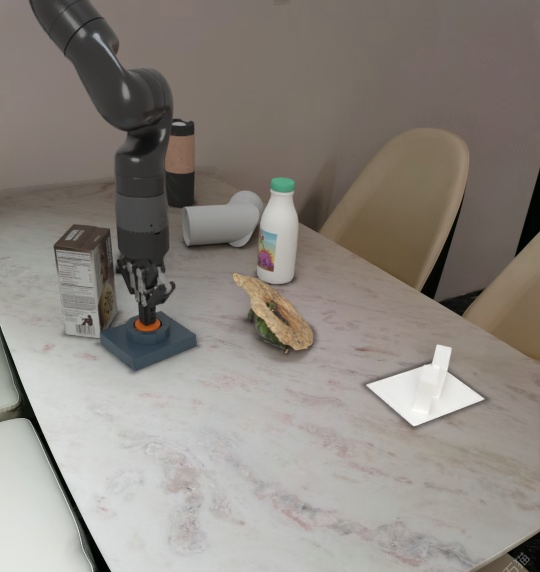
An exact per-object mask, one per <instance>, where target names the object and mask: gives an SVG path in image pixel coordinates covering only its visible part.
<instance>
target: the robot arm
mask: <svg viewBox="0 0 540 572" xmlns="http://www.w3.org/2000/svg"><path fill="white" fill-rule="evenodd" d="M27 3H28V6H29V9H30V11H31V13H32V15H33V18H34V19H35V21H36V23H37V24H38V26H39V27H40V28H41V30H42V31H43V33H44V34H45V35H46V36H47V38H48V39H49V41H51V43H52V44H53V45H54V46H55V48H57V49H58V51H59V52H60V53H61V54H62V56H63V57H64V58H65V59H66V60H67V61H68V63H70V65H71V66H72V67H73V68H74V71H75V72H76V75H77V77H78V79H79V81H80V83H81V85H82V87H83V89H84V91H85V93H86V94H87V96H88V98H89V100H90V102H91V103H92V105H93V107H94V109H95V110H96V112H97V113H98V114H99V116H100V117H101V118H102V119H103V120H104V121H105V122H106V123H108V124H109V125H110V126H111V127H113V128H114V129H117V130H119V131H122V132H126V135H125V138H124V140H123V141H122V143H121V144H120V145H119V146H118V147H117V148H116V149H115V151H114V153H113V161H112V162H113V176H114V188H115V191H114V192H115V194H114V195H115V196H114V197H115V199H114V212H115V213H114V214H115V225H116V238H117V249H118V251H119V253H120V254H123V255H124V256H125V257H124V258H120V259H119V258H117V259H116V265H117V264H118V267H119V269H120V272H121V276H122V278H123V282H124V283H125V286H126V289H127V291H128V293H129V295H131V296H133V295H134V299H135V302H136V303H137V307H138V315H139V321H140V322H141V323H142V324H143V325H145V326H148V325H151V324H154V323H155V322H156V312H157V307H158V306H160V305H164V304H165V303H166V302H167V300H168V299H169V297H170V296H171V295H172V294H173V292H174V291H175V290H176V287H177V286H176V283H175V281H174V280H172V281H171V280H170V281H169V280H168V277H166V270H167V269H166V266H165V262H164V258H165V256H166V254H168V252H169V250H170V221H169V217H170V216H169V205H168V200H167V194H166V172H165V157H166V152H167V148H168V144H169V138H170V132H171V126H172V120H173V119H174V96H173V92H172V91H173V90H172V89H171V85H170V83H169V82H168V79H167V78H166V76H165V75H164V73H162V72H161V71H159V70H158V69H156V68H154V67H152V66H138V67H134V68H129V69H128V68H127V69H126V68H125V66H124V65H123V64H122V63H121V62H120V60H119V58H118V57H117V55H118V52H119V49H120V39H119V37H118V34H117V32H116V31H115V30H114V28H113V27H112V25H111V24H110V23H109V22H108V21H107V19H106V17H105V16H104V15H103V14H102V13H101V12H100V10H99V9H98V8H97V7H96V5H94V4H93V2H92V1H91V0H27Z"/></svg>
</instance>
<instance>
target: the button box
mask: <svg viewBox="0 0 540 572" xmlns="http://www.w3.org/2000/svg"><path fill="white" fill-rule="evenodd" d="M138 319H139V314H137V315H134V316H131V317H130V318H129V319H128V320H126V321H125V323H122V324H120V325H116V326H114V327H111V328H108V329H107V330H105V331H102V332H100V338H99V340H100V344H101V346H103V347H104V348H105V349H107V350H108V351H109V352H110V353H112V355H114V356H115V357H117V359H119V360H120V361H121V362H123V363H124V364H125V365H126V366H127V367H128V368H130V369H131V370H132V371H133V372H136V371H139V370H141V369H143V368H145V367H149V366H151V365H153V364H155V363H158V362H161V361H163V360H165V359H168V358H171V357H172V356H175V355H177V354H180V353H182V352H185V351H187V350H189V349H191V348H194V347H196V346H197V334H196V333H195V332H193V331H191V330H190V329H188V328H187V327H185V326H184V325H183V324H181V323H180V322H179V321H176V319H173V317H171V316H170V315H168V314H167V313H165V312H163V311H162V310H159V311H156V319H158V320H159V321H160V328H159V329H157V330H154V331H146V332H144V331H140V330H137V329H136V328H135V322H136V321H137V320H138Z"/></svg>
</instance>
